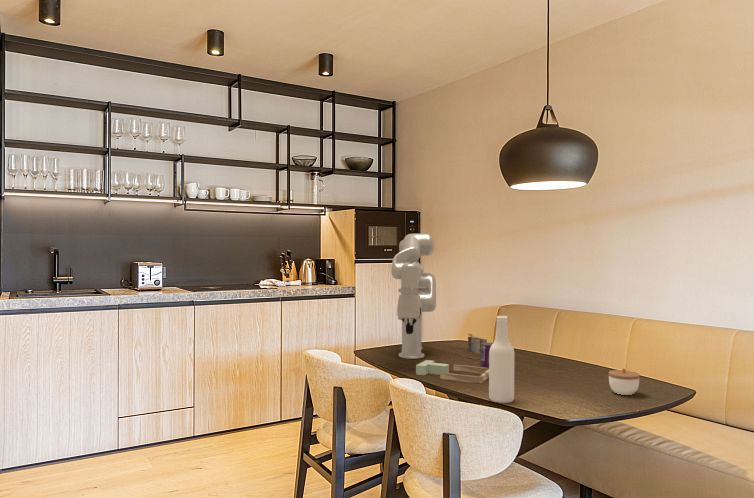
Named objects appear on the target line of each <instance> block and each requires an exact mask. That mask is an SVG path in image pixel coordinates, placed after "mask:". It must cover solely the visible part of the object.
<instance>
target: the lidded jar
mask: <svg viewBox="0 0 754 498" xmlns="http://www.w3.org/2000/svg"><path fill="white" fill-rule="evenodd" d="M640 377H641V376H640V373H638V372H635V371H633V370H632V371H631V370H626V368H622V369H613V370H609V371H608V382H609V383H608V384H609V386H610V388H611V390H612V391H613V392H614V394H615V393H617V394H621V395H632V394H635V393H636V392H637V391H638V389H639V386H640V379H641V378H640ZM617 394H616V395H617ZM621 395H620V396H621ZM632 396H633V395H632Z"/></svg>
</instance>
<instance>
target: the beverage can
mask: <svg viewBox="0 0 754 498" xmlns="http://www.w3.org/2000/svg"><path fill="white" fill-rule="evenodd" d="M493 343H494V342H487V343H481V344H482V345H481V347H480V354H479V360H480V361H479V367H485V368H489V351H490V347H491V345H492V344H493Z"/></svg>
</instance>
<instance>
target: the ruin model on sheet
mask: <svg viewBox="0 0 754 498" xmlns="http://www.w3.org/2000/svg"><path fill="white" fill-rule="evenodd" d="M467 335H468V336H467V351H468V352H469V351H470V352H472V353H475V354H479V355H480V347H481V345H482V344H481V343H488V339H485V338H481V337H477V336H474V335H472V333H467Z"/></svg>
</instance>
